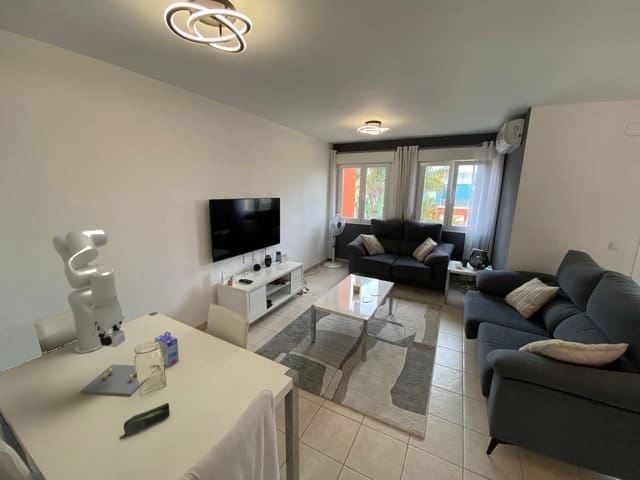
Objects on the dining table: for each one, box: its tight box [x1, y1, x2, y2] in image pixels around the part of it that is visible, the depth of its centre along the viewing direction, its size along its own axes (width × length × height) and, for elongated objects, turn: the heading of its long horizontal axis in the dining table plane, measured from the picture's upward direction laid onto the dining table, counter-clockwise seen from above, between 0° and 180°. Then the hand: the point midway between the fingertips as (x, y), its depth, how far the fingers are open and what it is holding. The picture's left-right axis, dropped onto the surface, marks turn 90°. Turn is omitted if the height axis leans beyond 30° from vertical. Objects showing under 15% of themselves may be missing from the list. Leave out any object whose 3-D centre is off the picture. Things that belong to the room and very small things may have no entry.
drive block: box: [96, 329, 126, 348], centre depth 108 cm, size 5×8×5 cm, turn 87°
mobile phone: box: [119, 402, 171, 439], centre depth 92 cm, size 5×3×15 cm
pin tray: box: [79, 363, 140, 397], centre depth 113 cm, size 16×21×4 cm
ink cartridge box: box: [154, 330, 180, 368], centre depth 125 cm, size 10×6×14 cm, turn 64°
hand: (111, 341), depth 108 cm, fingers closed on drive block, 4 cm apart
